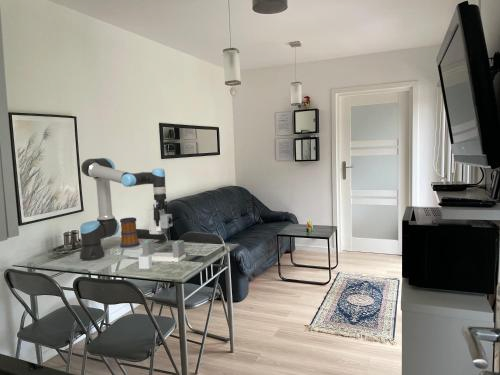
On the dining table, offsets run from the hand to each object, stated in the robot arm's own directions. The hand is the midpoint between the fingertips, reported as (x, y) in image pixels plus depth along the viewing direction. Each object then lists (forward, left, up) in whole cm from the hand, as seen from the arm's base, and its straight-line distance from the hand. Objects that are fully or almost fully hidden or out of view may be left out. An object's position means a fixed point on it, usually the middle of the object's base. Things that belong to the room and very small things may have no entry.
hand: (162, 229), depth 241 cm
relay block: (-2, -18, -19) cm, 26 cm away
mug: (-43, +30, -19) cm, 55 cm away
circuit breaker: (0, 0, -2) cm, 2 cm away
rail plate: (0, 0, -19) cm, 19 cm away
